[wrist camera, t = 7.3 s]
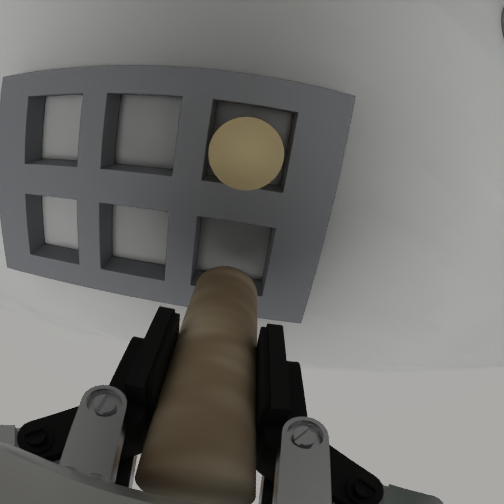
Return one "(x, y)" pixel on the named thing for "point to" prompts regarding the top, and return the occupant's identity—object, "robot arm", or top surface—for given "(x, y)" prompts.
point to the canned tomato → (503, 21)
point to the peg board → (174, 178)
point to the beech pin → (208, 399)
